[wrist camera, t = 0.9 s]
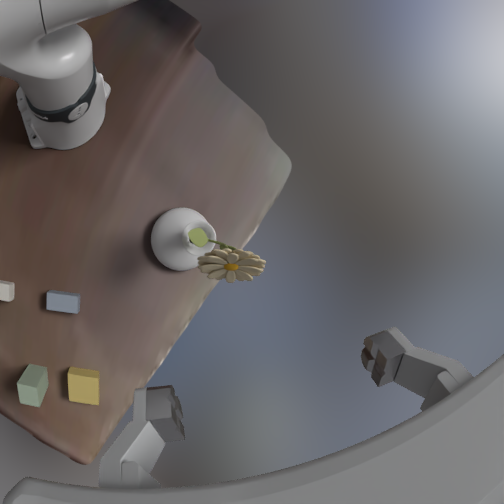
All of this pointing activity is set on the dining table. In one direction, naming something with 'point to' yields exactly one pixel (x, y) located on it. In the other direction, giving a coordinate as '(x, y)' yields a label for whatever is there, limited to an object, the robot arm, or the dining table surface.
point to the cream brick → (6, 291)
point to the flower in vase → (200, 248)
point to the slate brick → (63, 301)
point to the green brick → (33, 385)
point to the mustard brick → (83, 385)
